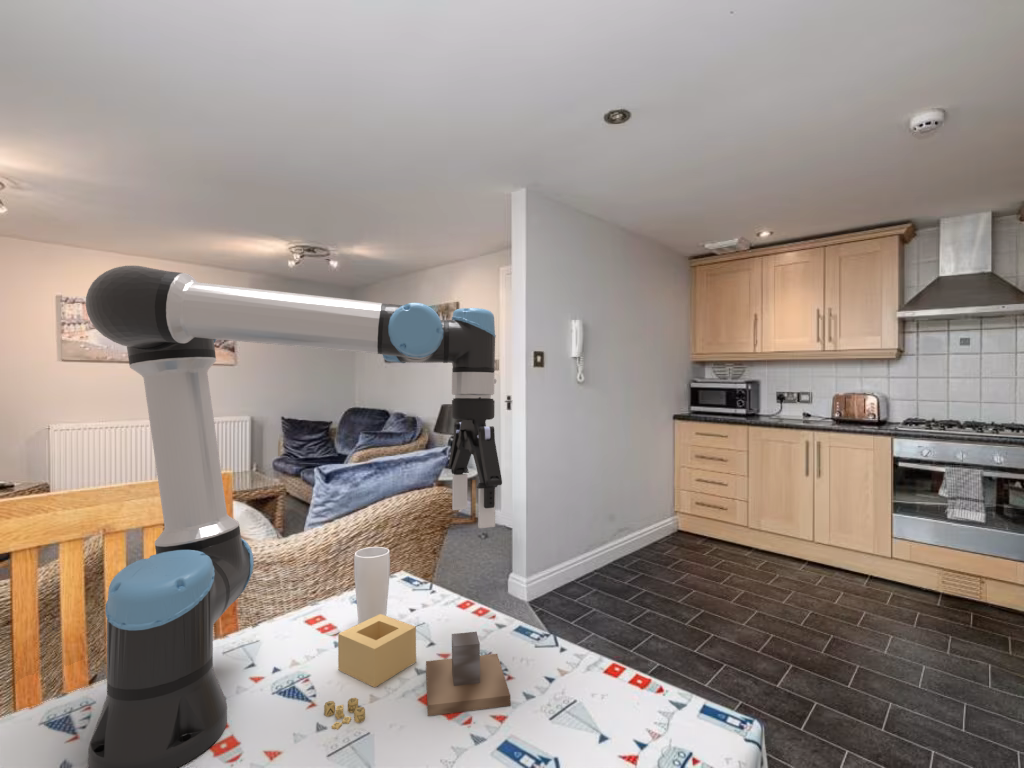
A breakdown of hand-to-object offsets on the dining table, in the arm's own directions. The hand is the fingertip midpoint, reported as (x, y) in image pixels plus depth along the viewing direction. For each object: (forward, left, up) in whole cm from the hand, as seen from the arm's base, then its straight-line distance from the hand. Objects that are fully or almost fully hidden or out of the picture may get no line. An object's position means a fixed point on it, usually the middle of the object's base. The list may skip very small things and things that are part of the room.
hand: (472, 517), depth 89 cm
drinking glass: (-18, +14, -24) cm, 33 cm away
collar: (-16, 0, -24) cm, 29 cm away
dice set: (-20, -13, -25) cm, 34 cm away
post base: (-2, -9, -24) cm, 26 cm away
